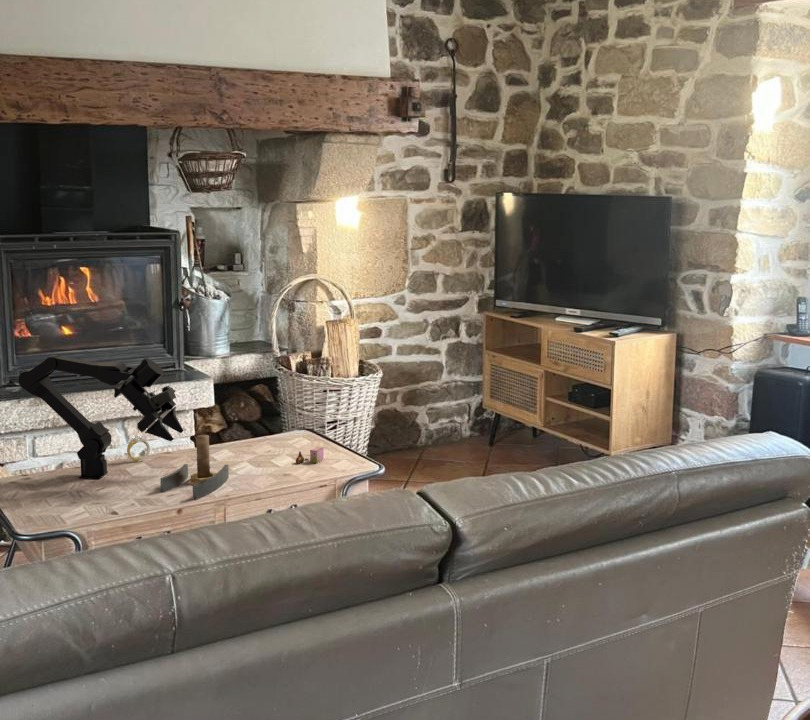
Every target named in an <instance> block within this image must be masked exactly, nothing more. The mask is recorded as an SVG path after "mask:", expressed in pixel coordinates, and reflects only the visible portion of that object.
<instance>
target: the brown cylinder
mask: <svg viewBox="0 0 810 720" xmlns="http://www.w3.org/2000/svg"><path fill="white" fill-rule="evenodd" d="M195 440H196V441H195V442H196V472H193V473H191V474H190V480H191V481H192V482H195V483H200V482H202V481H204V480H206V479H208V478H210V477H212V476H213V475H215V474H216V473H217V472H213V471H211V468H210V467H211V463H210V460H211V459H210V436H209V435H208V434H198V435H196V439H195Z"/></svg>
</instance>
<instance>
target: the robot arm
mask: <svg viewBox="0 0 810 720" xmlns="http://www.w3.org/2000/svg"><path fill="white" fill-rule="evenodd" d="M56 371H59V372H64V373H69V374H74V375H80V376H84V377H85V376H86V377H90V378H93V379H95V380H97V381H99V382H100V383H104V384H106V385H108V386H116V387H114V388H113V390H114V394H113V397H114V398H117V397H119V396H121V395H122V396H123V397H124V398H125V399H126V400H127V401H128V402H129V403H130V404H131V405H132V406H133V407H132V410H133V411H135V412H136V411H138V412H139V413H140V414H141V416H143V418H141V419H140V420H139V421H138V422H137V424H136V427H137V428H136V429H138V431H140V433H145V434H149V435H152V436H155V437H158V438H159V439H163V440H165V441H168V442H173V440H174V437H173V436H172V434H171V433H170V431H169V430H168V429H167V428H166V426H167V427H169V429H172V430H174V431H176V432H178V433H180V434H182V433H184V428H183V427H182V425H181V423H180V421H179V419H178V418H177V415H176V409H177V406H176V405H177V403H176V402H175V401H174V399H176V398H177V395H176V394H175V393H176V389H174V388H173V387H171V386H170V385H167V386H164V387H162V388H161V391H160V392H159V393H157V394H155V393H154V392H153V391H151V392H149V391H147V390H146V389H145V388H146V387H147V388H151V387H152V386H153V385H154V384H155V383H156V382H157V381H158V380H159V379H160V378H161V377H162V376H163V375H164V369H163V368H162V366H160V364H158V363H156V362H155V361H153V360H151V359H149V358H148V357H145V358H144V359H143V360H142V361H141V362H140V363H139V365H138V366H137V367H133V366H128V365H127V366H126V364H125V363H123V362H120V361H119V362H118V361H116V362H115V361H107V362H95V361H90V360H83V359H78V358H74V357H73V358H72V357H69V356H68V357H67V356H62V355H60V354H53V355H51V356H47V357H46V359H44V361H42V362H40V363H39V364H38V365H36V366H34V367H31V368H28V369H26V370H24V371H22V372H21V373H20V374H19V375H18V385H19V387H20V388H21V389H22V390H24V391H25V392H27V393H28V394H30V395H31V396H34V397H37V398H39V399H41V400H42V401H43V402H44V403H46V405H48V407H50V408H51V410H53V412H54V413H55V414H57V415H58V416H59V417H60V418H61V419H62V420H63V421H64V422H65V423H67V424H68V426H69V427H70V428H72V430H74V431H75V433H76V434H77V437H78V439H79V442H80V443H81V445H82V447H81V448H80V449H79V450H78V451H77V452H76V455H77V458H78V460H79V461H80V475H78V479H89V478H92V479H95V480H100V479H102V478H103V477H104V476H106V475H107V474H108V473H109V472H108V463H107V459H106V454H104V453H106V451H107V448H108V447H110V446H111V444H112V438H113V437H112V435H111V433H110V429H109V428H107V427H105V425H103V423H102V422H101V421H100V420H99V421H97V422H96V423H93V422H91V421H89V419H88V418H86V417H85V416H84V415H83V414H82V413H81V412H80V411H79V410H78V409H77V408H76V407H75V406H74V405H72V403H71V402H70V401H68V399H67V398H66V397H65V396H63V394H62V393H60V391H58V390H57V389H56V388H55V387H54V383H53V381H52V379H51V377H50V376H51V375H52V374H53V373H55V372H56ZM132 377H133V378H132ZM130 378H132V379H131V380H129V379H130ZM122 382H123V383H122ZM120 383H122V384H121V385H119V384H120ZM117 385H119V386H117ZM92 479H91V480H92Z"/></svg>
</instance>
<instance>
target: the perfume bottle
mask: <svg viewBox="0 0 810 720" xmlns="http://www.w3.org/2000/svg"><path fill="white" fill-rule="evenodd" d="M309 452H310V453H309V457H304V456H303V455H302V451H301V450H300V451H299V452H298V455H297V457H296V459H295V463H296V464H297V465H301V464H303V463H304V462H305V461H309V463H310V462H312V463H311V464H316V463H317V464H319V463H321V462H323V461H324V460H323V459H324V458H325V457H324V456H325V455H324V447H323V446H315V447H313V448H311V449H310V450H309ZM322 460H323V461H322ZM320 461H321V462H320ZM318 462H319V463H318ZM300 463H301V464H300Z"/></svg>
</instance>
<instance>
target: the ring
mask: <svg viewBox="0 0 810 720" xmlns="http://www.w3.org/2000/svg"><path fill="white" fill-rule="evenodd" d="M140 442H141V443H143V444H144V445H145V446H146V453H145V454H144V455H143V456H142V457H137V458H135V457H132V454H131V450H132V447H133V446H134V445H136V444H137V443H140ZM126 452H127V456H128V457H129V459H130V460H132V461H134V462H139V463H140V462H141V461H143V460H145V459H146V458H147V457H148V456H149V454H150V452H151V445H150V443H149V442H148V441H147V440H146V439H143V436H141V437H140V436H138V435H136V436H134V437H133V438H132V439H130V440H129V442H128V444H127V446H126Z"/></svg>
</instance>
